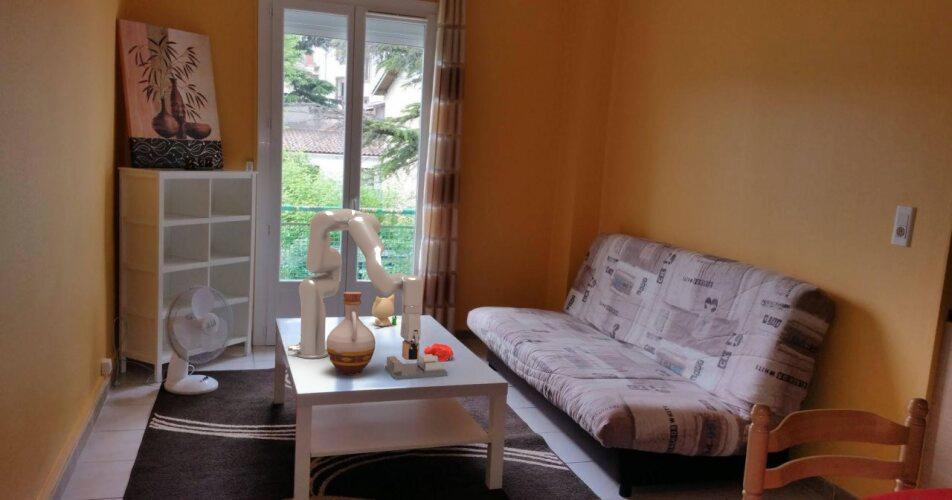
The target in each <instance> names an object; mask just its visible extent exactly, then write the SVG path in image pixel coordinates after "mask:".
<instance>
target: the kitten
mask: <svg viewBox="0 0 952 500" xmlns="http://www.w3.org/2000/svg"><path fill="white" fill-rule="evenodd" d="M374 300H375V301H374V302H373V303H372V307H371V315H372V316H373V317H374V318H375V320H374V322H375V324H376V325H377V326H379V327H388V326H389V325H390V324H392V325H393V326H396V325H397V319H398V318H397V315H396V314H394V313H395V294H393V295H389V296H388V297H379V296H378V295H376V297H375V299H374ZM391 317H392V321H391V320H390V319H389V318H391Z"/></svg>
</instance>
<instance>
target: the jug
mask: <svg viewBox="0 0 952 500" xmlns="http://www.w3.org/2000/svg"><path fill="white" fill-rule="evenodd" d="M342 294H343V301H342V302H343V304H344V309H345V316H344V318H343V320H341V321H340V323H338V324H337V325H336V326H335V327H334V328H333V329H332V330H331V331H330V332H329V334H328V335H327V338H326V340H325V345H326V350H327V352H328V358H329V360H330V362H331V363H332V365H333V366H334V367H335V370H337V371H338V372H339V374H342V375H346V376H354V375H359V374H361V373H362V372H363V371H364V370H365V369H366V367H367V366H368V365H369V363H370V362H371V360H372V357H373V356H374V352H375V349H376V337H375V335H374V333H373V331H372V330H370V328H369V327H368V326H367V325H366V324H364V322H363V321H362V320H361V319H360V318H359V311H360V310H359V309H360V306H361V304H362V300H361V297H362V292H360V291H345V292H342Z"/></svg>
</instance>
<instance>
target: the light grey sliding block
mask: <svg viewBox="0 0 952 500" xmlns="http://www.w3.org/2000/svg"><path fill="white" fill-rule="evenodd" d="M431 362H437V358H436V357H434V356H433V355H432V354H426V355H425V354H419V361H418V365H419V366H420V367H421V368H422V369H423V370H424V363H431Z"/></svg>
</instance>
